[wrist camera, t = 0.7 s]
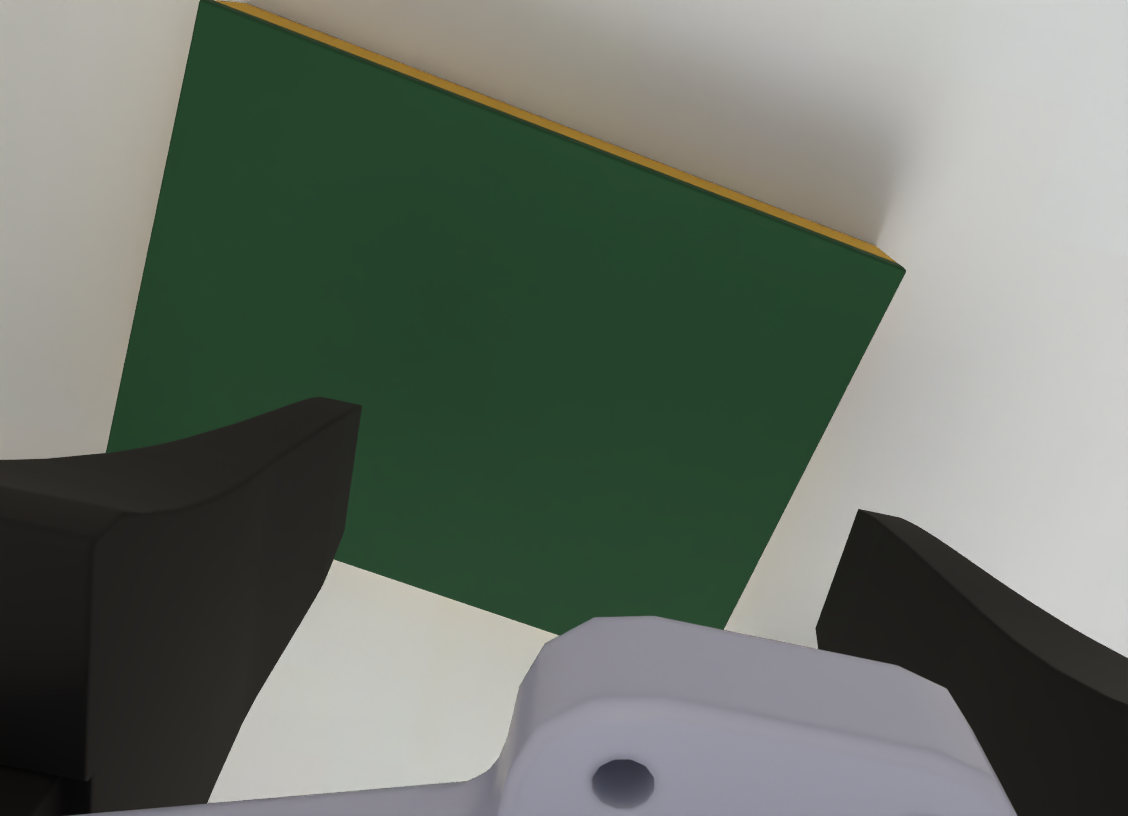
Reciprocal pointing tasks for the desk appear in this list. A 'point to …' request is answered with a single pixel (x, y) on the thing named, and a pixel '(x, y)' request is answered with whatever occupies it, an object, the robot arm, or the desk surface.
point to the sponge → (491, 328)
